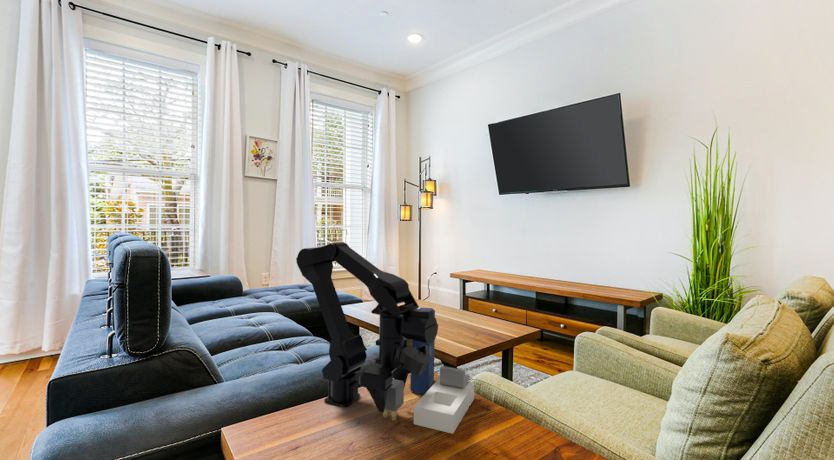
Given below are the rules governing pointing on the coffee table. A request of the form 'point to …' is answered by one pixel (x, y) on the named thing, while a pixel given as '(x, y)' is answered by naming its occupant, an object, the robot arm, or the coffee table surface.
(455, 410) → the power strip
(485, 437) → the coffee table surface
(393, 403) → the plug
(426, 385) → the electronic device
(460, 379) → the grey block
